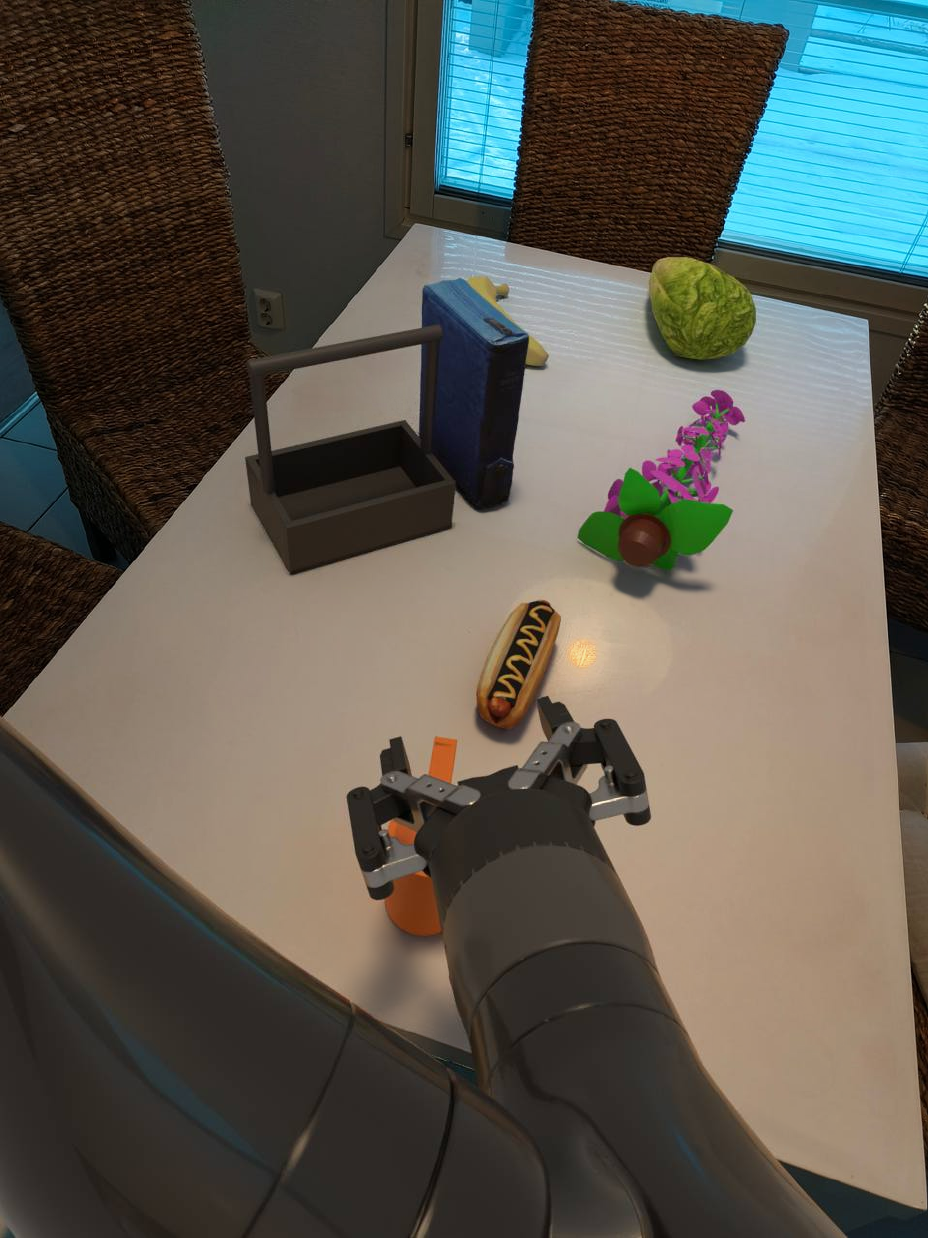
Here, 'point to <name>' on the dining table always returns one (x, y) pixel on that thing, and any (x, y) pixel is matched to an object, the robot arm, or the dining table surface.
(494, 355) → the book
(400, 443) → the basket
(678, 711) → the dining table surface
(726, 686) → the dining table surface
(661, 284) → the lettuce
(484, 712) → the hot dog
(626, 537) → the potted plant
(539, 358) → the banana
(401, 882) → the measuring cup
